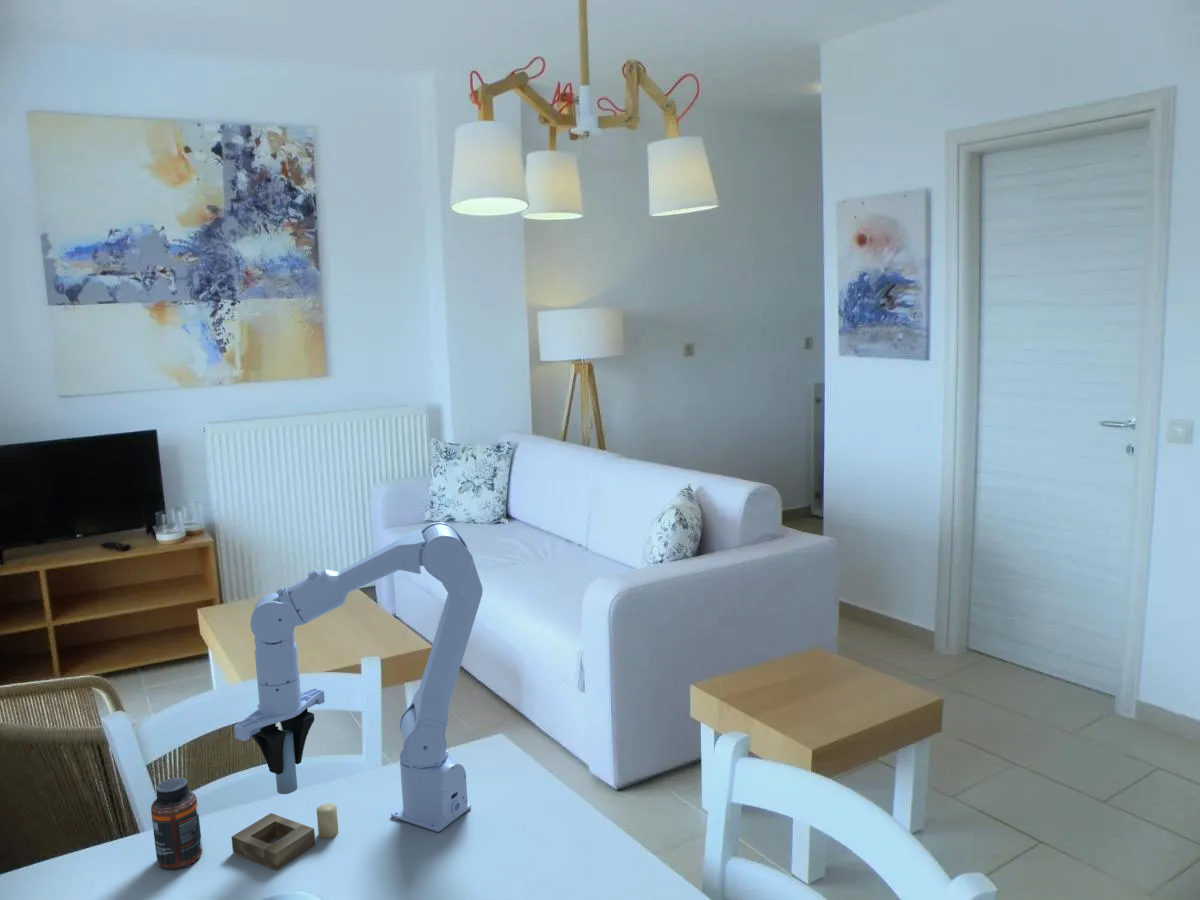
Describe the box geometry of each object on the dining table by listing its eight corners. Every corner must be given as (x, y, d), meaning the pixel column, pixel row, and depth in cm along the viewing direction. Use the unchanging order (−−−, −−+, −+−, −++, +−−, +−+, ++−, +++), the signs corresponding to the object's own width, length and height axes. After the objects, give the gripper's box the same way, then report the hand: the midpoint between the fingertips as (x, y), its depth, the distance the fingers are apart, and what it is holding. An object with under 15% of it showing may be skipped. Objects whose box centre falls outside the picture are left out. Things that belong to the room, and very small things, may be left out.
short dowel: (342, 831, 139) (340, 806, 138) (328, 840, 136) (326, 815, 136) (328, 826, 140) (326, 801, 140) (314, 835, 138) (312, 810, 137)
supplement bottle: (211, 847, 136) (203, 773, 134) (189, 872, 130) (181, 795, 128) (171, 846, 136) (163, 773, 134) (148, 870, 130) (139, 794, 129)
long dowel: (301, 787, 138) (297, 732, 137) (286, 795, 136) (281, 740, 134) (288, 782, 139) (283, 728, 138) (273, 791, 137) (268, 736, 136)
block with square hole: (315, 844, 135) (314, 828, 135) (276, 870, 130) (275, 853, 129) (272, 828, 140) (271, 812, 140) (233, 852, 134) (231, 836, 134)
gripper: (298, 656, 143) (305, 740, 145) (216, 691, 131) (225, 782, 133) (331, 664, 139) (338, 750, 141) (250, 701, 127) (258, 794, 129)
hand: (285, 766), depth 137 cm, fingers closed on long dowel, 3 cm apart
